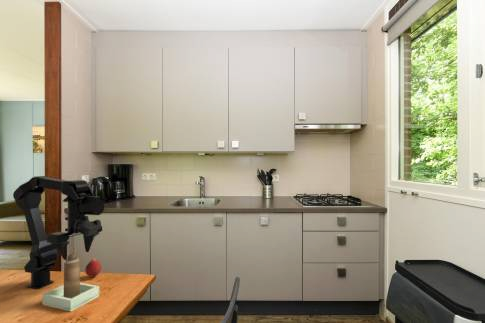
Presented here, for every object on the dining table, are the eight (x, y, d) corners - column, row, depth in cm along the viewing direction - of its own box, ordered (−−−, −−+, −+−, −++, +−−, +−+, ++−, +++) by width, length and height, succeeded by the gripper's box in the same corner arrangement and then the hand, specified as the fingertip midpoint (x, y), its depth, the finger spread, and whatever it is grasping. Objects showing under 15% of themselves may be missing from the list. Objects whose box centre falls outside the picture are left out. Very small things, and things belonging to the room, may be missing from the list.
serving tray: (42, 304, 93) (42, 294, 93) (72, 290, 104) (72, 281, 104) (70, 311, 89) (70, 300, 89) (99, 296, 99) (99, 286, 99)
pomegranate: (94, 281, 112) (94, 261, 112) (82, 280, 113) (82, 260, 113) (104, 275, 118) (104, 256, 118) (92, 274, 119) (92, 255, 119)
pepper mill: (61, 297, 96) (62, 254, 96) (76, 292, 100) (77, 250, 100) (66, 301, 93) (67, 256, 93) (82, 296, 97) (82, 253, 97)
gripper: (69, 220, 92) (69, 267, 92) (112, 211, 110) (113, 250, 110) (45, 218, 96) (45, 263, 96) (91, 209, 114) (91, 247, 114)
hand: (76, 255), depth 104 cm, fingers open, 9 cm apart
